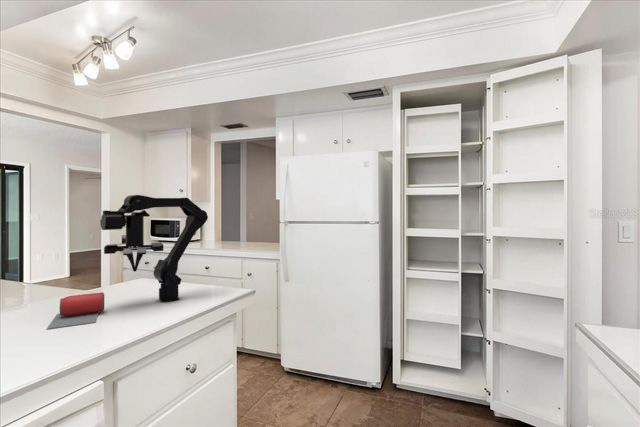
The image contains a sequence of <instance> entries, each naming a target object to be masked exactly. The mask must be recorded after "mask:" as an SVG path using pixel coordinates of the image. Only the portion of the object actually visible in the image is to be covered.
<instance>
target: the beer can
mask: <svg viewBox="0 0 640 427" xmlns="http://www.w3.org/2000/svg"><path fill="white" fill-rule="evenodd" d="M104 311H105V293H104V292H103V291H102V292H94V293H85V294H83V293H82V294H75V295H74V294H73V295H67V296H65V297H63V298H60V300H59V314H60V316H62V315H64V316H74V315H81V314H89V313H96V312H99V313H101V312H104Z"/></svg>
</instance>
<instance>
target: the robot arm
mask: <svg viewBox="0 0 640 427" xmlns="http://www.w3.org/2000/svg"><path fill="white" fill-rule="evenodd" d="M153 208H180V209H181V211H182V213H184V215H185V216H186V218H185V224H184V225H185V226H184V228H183V230H182V231H181V233H180V235H179V237H178V238H177V239H176V241H175V243H174V245H173V247H171V250H170V252H169V253H168V255H167V256H166V257H165V258H164V259H158V261H157V263H156V265H155V266H154V267H153V276H154V279H155V280H157V281H158V284H160V287H158V300H160V302H161V303H164V302H166V303H167V302H172V301H179V300H180V298H179V285H181V282H182V278H181V277H179V276H178V275H177V272H178V268H179V262H180V260H181V258H182V256H183V255H184V253H185V251H186V250H187V247H188V246H189V244H190V243H191V241H192V239H193V238H194V235H195V234H196V232H197V231H198V230H199V229H201V228H202V227H203V226H204V225H205V224H206V222H207V221H208V219H209V216H208V213H207V212H206V210H203V209H201V207H199V206H198V205H197V204H195V203H194V202H193V201H191V199H189V198H188V197H179V198H178V197H152V196H147V195H143V194H142V195H141V194H132V195H128V196H126V197H125V198H124V200H123V204H122V205H121V206H120V208H118V210H102V214H101V218H100V220H99V222H100V223H99V224H100V227H101V228H100V229H101V230H102V231H111V230H113V231H114V230H115V231H117V230H122V229H123V228H125V234H122V235H121V245H119V244H118V243H115V244H114V243H112V244H106V245H105V246H104V247H103V253H104V255H108V254H109V255H112V254H116V253H117V252H122V253H123V254H122V255H123V256H126V257H127V259H128V261H129V263H130V264H131V267H132V271H133V272H137V271H138V267H139V264H140V262H141V261H142V260H141V259H142V258H143V256H144V255H146V254H147V251H148V250H152V251H153V252H163V251H164V244H163V243H162V242H161V241H159V242H151V243H150V244H144V243H145V242H144V240H145V236H144V235H145V232H144V231H145V230H144V229H145V227H144V226H145V223H144V219H145V218H144V217H151V216H150V215H151V214H150V213H148V212H147V211H146V210H148V209H149V210H150V209H153ZM138 211H139V212H138ZM125 214H127V215H125ZM133 251H136V257H135V258H136V259H134V254H133Z"/></svg>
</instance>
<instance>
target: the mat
mask: <svg viewBox="0 0 640 427" xmlns="http://www.w3.org/2000/svg"><path fill="white" fill-rule="evenodd" d="M99 313H100V312H96V313H89V314H81V315H74V316H64V315H62V316H60V313H56V315H55V316H54V318H52V320H51V322H50V323H49V325H48V326H47V328H46V331H47V330H53V329H62V328H69V327H74V326H75V327H76V326H82V325H83V326H84V325H89V324H96V322H97V320H98V317H99Z"/></svg>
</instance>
